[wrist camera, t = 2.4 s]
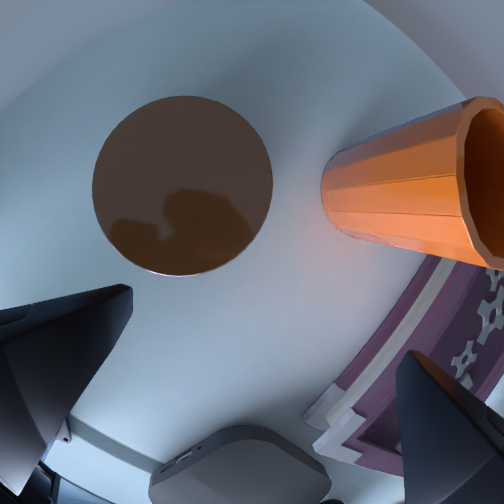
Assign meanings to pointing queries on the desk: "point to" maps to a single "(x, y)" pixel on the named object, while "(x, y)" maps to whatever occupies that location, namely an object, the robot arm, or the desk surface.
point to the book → (427, 342)
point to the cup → (426, 185)
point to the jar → (182, 186)
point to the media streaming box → (241, 472)
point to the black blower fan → (332, 502)
